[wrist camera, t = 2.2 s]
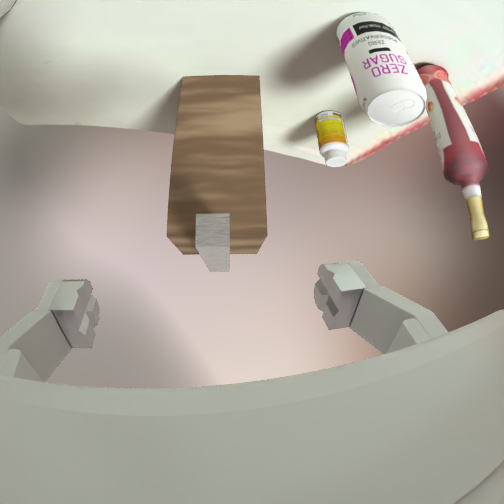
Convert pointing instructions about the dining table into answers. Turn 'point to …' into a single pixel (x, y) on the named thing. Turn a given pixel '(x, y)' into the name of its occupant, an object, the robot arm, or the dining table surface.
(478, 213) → the liquor
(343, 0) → the dining table surface
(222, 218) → the aluminium bar
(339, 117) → the supplement bottle
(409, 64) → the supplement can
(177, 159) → the walnut stand
